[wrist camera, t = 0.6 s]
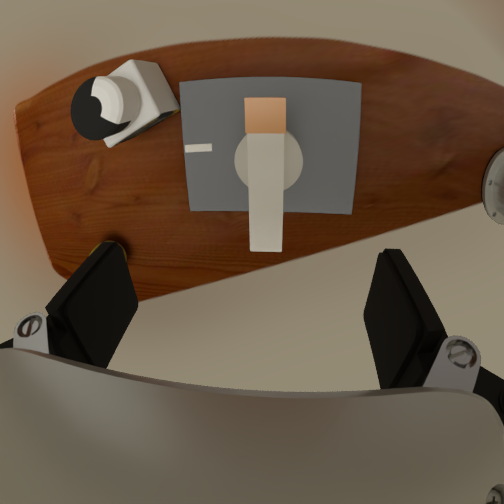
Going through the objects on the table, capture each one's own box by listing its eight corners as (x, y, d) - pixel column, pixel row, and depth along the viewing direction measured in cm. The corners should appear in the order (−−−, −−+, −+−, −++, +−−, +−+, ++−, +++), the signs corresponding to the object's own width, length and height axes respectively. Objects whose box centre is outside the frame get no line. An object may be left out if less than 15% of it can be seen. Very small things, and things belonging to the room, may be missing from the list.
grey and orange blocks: (236, 96, 24) (217, 98, 17) (301, 97, 24) (312, 98, 16) (240, 206, 30) (226, 251, 23) (298, 207, 30) (305, 253, 22)
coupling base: (358, 83, 27) (374, 82, 22) (348, 209, 36) (360, 231, 31) (183, 82, 29) (165, 82, 24) (193, 206, 37) (179, 226, 32)
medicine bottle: (135, 137, 33) (81, 161, 23) (112, 92, 30) (52, 101, 19) (182, 109, 31) (138, 121, 21) (157, 61, 28) (104, 54, 17)
